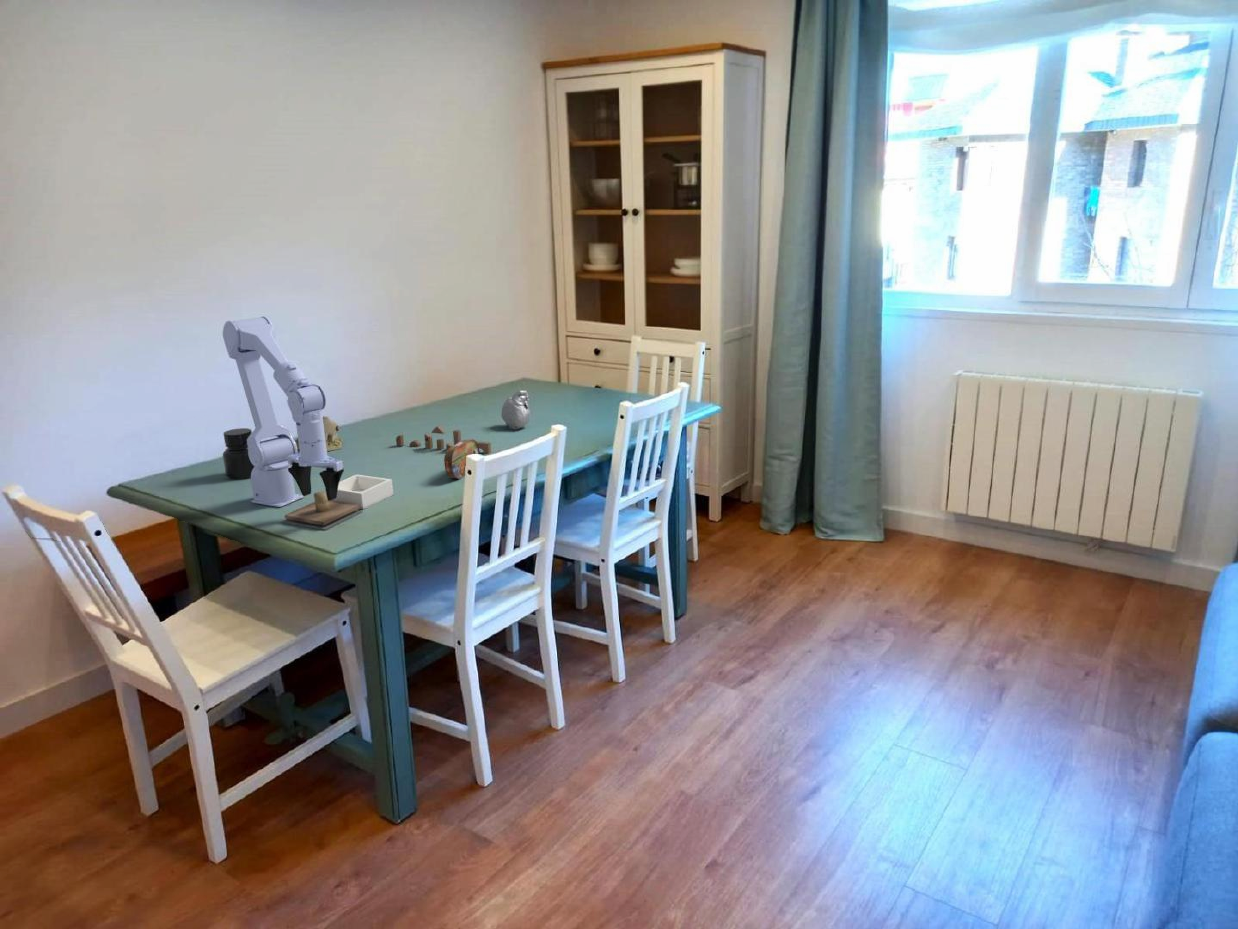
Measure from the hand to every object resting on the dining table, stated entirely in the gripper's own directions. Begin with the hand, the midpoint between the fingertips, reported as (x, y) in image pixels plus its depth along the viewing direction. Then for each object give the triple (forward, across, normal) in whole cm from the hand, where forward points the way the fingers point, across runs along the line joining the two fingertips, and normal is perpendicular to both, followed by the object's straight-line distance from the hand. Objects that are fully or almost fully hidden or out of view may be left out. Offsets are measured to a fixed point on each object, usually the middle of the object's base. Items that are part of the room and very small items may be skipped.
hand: (319, 496), depth 197 cm
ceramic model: (+6, -43, +45) cm, 63 cm away
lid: (+4, 0, 0) cm, 4 cm away
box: (+5, 0, +13) cm, 14 cm away
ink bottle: (+6, -43, +17) cm, 46 cm away
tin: (+5, +12, +39) cm, 41 cm away
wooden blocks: (+6, -6, +56) cm, 57 cm away
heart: (+5, +1, +84) cm, 84 cm away
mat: (+5, 0, 0) cm, 5 cm away
